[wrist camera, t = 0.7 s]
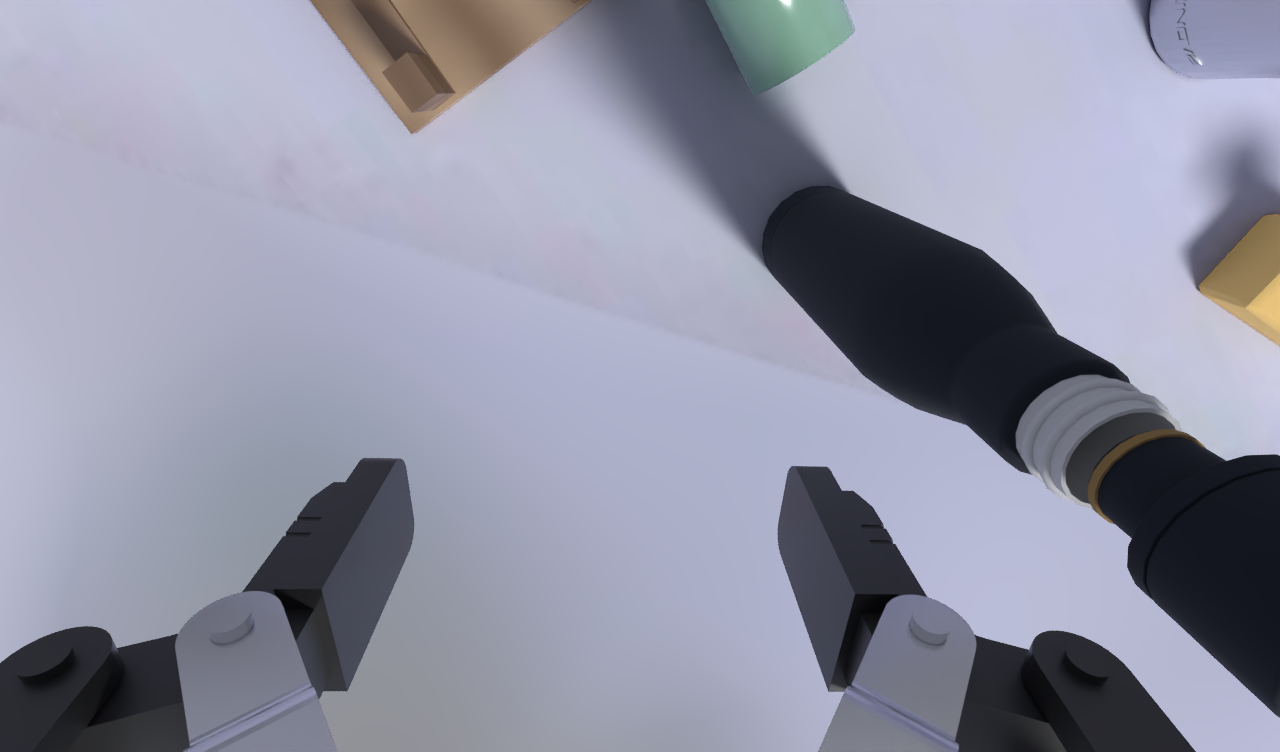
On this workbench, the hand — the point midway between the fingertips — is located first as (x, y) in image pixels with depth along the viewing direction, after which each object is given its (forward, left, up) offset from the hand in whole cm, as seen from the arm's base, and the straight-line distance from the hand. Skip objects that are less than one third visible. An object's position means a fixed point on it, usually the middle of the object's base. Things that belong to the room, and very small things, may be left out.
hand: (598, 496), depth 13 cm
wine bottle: (-11, +7, -26) cm, 29 cm away
